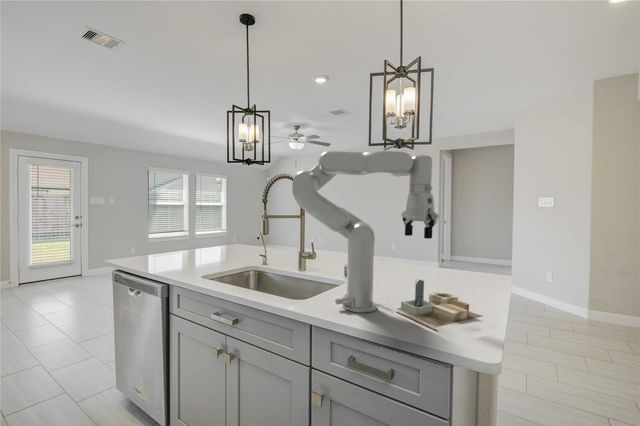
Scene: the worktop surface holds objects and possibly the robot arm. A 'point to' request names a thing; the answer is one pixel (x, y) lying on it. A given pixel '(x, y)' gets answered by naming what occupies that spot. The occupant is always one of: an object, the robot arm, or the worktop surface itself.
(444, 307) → the beige cardboard box
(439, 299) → the holder
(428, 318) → the board
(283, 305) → the worktop surface
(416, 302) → the dowel
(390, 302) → the worktop surface
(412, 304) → the tray
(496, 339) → the worktop surface
